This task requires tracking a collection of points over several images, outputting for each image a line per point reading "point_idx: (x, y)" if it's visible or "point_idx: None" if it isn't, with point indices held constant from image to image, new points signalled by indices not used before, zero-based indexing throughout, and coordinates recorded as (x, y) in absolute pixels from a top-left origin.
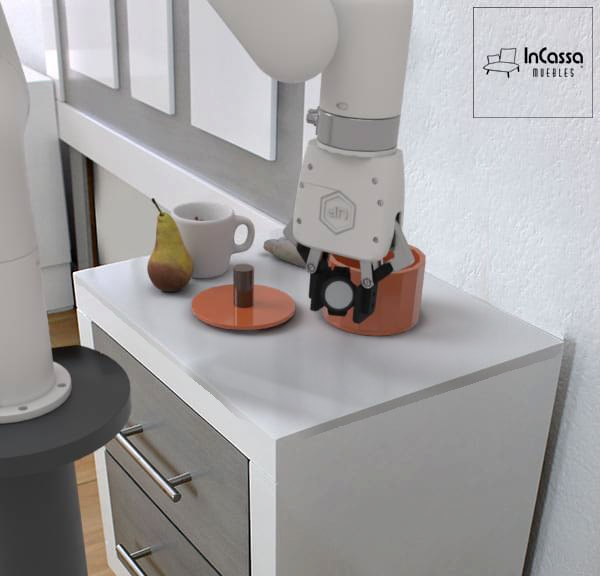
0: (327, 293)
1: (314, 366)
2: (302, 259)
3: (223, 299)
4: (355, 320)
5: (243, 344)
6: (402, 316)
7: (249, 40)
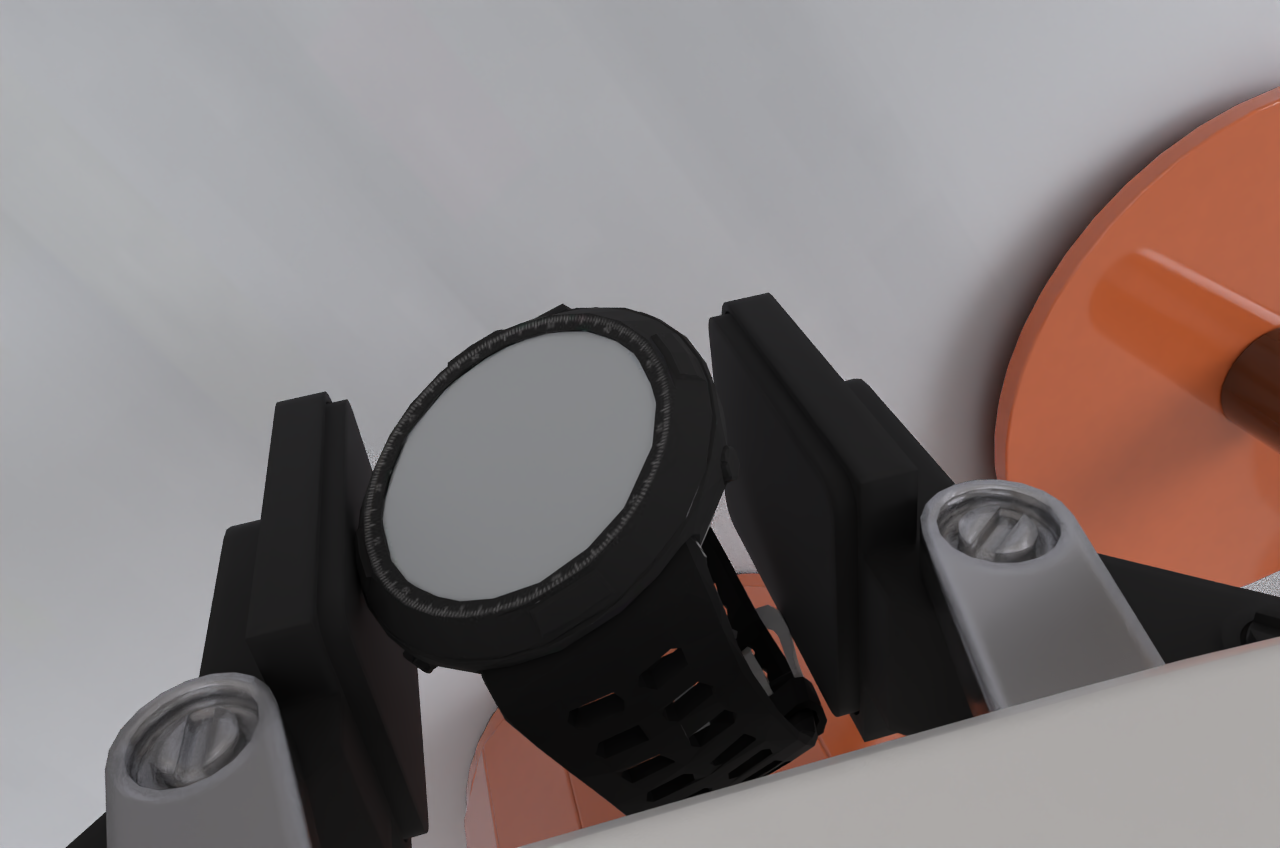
0: (623, 387)
1: (575, 147)
2: None
3: None
4: (300, 401)
5: (1076, 58)
6: (485, 827)
7: None
